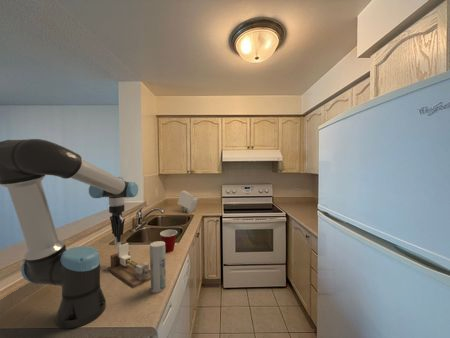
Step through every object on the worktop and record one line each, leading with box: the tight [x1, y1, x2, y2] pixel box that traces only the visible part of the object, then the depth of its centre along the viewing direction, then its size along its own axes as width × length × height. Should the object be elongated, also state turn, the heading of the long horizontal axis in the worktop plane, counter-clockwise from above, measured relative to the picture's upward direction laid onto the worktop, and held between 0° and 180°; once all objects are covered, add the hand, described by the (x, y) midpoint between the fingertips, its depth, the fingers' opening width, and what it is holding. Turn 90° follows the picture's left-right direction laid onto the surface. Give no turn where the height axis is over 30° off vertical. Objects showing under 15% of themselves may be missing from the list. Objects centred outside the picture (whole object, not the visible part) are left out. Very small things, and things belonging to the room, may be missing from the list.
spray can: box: [149, 240, 167, 294], centre depth 92 cm, size 6×6×20 cm
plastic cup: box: [159, 229, 178, 253], centre depth 134 cm, size 11×11×12 cm
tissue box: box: [177, 189, 199, 214], centre depth 247 cm, size 20×16×25 cm
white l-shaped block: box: [117, 242, 132, 266], centre depth 110 cm, size 5×5×10 cm
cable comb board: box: [107, 253, 151, 288], centre depth 106 cm, size 12×28×7 cm, turn 52°
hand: (117, 247), depth 116 cm, fingers closed
